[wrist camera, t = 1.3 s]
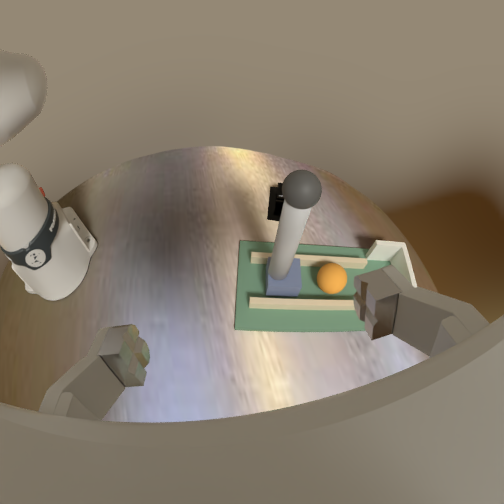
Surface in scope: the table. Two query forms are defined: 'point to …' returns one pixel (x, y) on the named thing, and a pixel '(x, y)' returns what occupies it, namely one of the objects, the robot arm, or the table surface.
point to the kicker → (291, 233)
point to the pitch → (298, 320)
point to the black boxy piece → (275, 203)
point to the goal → (378, 251)
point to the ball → (331, 278)
